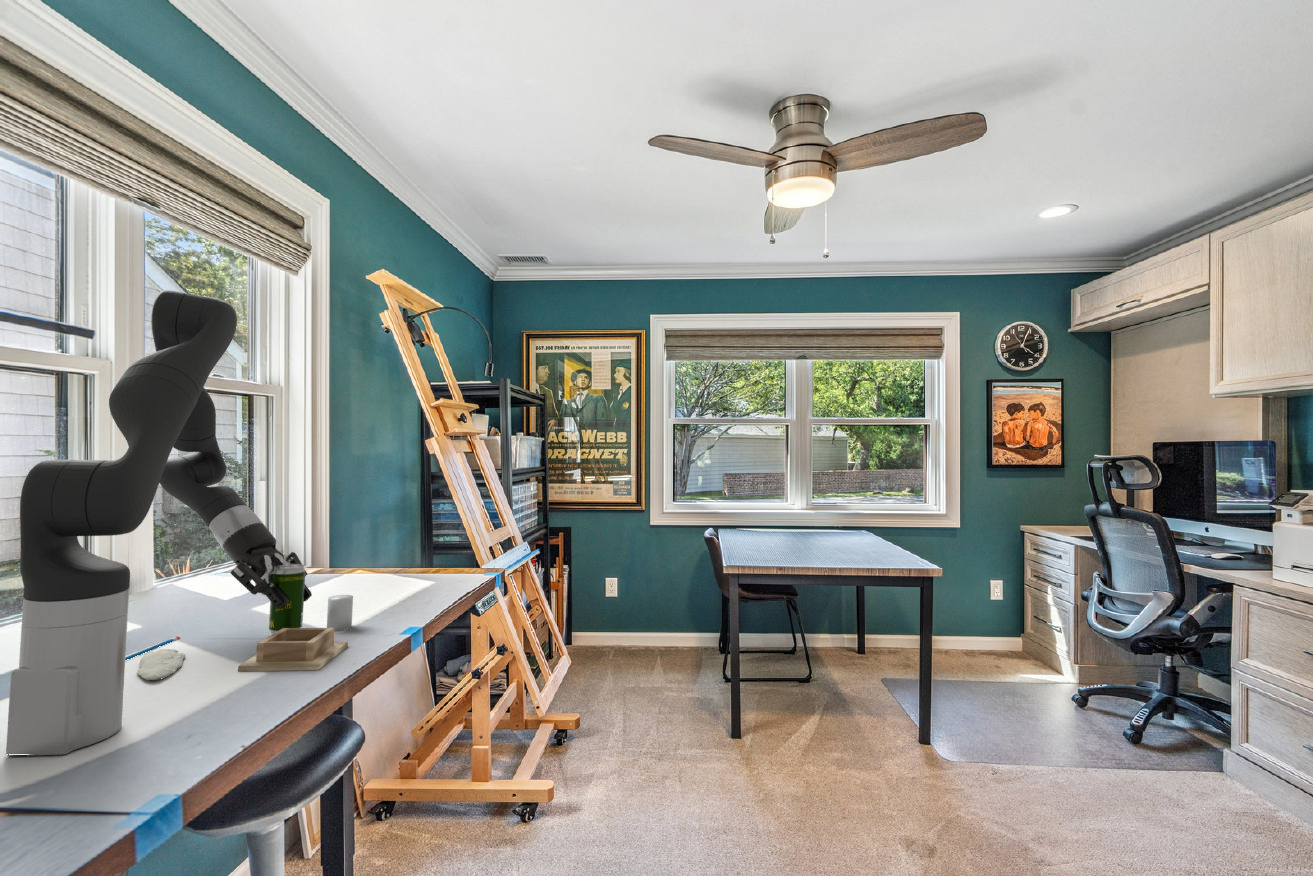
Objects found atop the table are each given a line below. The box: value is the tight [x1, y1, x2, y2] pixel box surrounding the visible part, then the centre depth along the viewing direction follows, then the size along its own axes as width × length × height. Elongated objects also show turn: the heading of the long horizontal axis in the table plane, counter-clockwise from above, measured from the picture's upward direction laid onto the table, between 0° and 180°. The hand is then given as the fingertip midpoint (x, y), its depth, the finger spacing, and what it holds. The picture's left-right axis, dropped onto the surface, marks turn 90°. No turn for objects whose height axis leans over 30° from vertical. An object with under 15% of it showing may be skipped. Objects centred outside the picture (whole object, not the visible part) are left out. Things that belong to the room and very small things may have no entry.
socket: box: [237, 627, 349, 672], centre depth 101 cm, size 12×12×4 cm
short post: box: [326, 594, 354, 632], centre depth 119 cm, size 4×4×6 cm
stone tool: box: [136, 648, 186, 681], centre depth 95 cm, size 6×2×15 cm
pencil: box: [125, 636, 181, 661], centre depth 101 cm, size 1×17×1 cm, turn 3°
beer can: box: [268, 564, 307, 635], centre depth 112 cm, size 5×5×12 cm
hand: (296, 602), depth 112 cm, fingers closed on beer can, 5 cm apart
